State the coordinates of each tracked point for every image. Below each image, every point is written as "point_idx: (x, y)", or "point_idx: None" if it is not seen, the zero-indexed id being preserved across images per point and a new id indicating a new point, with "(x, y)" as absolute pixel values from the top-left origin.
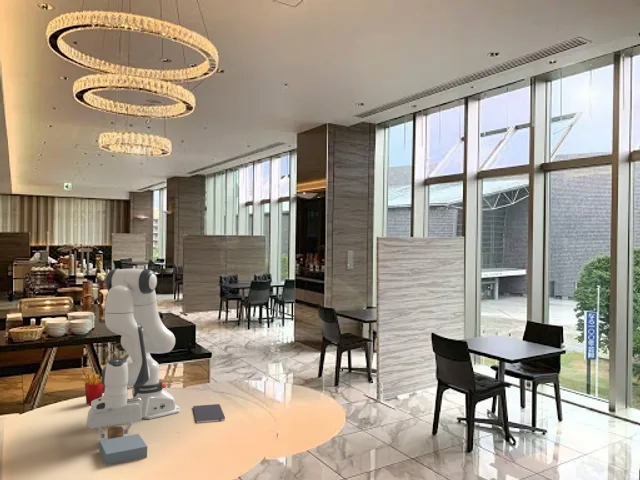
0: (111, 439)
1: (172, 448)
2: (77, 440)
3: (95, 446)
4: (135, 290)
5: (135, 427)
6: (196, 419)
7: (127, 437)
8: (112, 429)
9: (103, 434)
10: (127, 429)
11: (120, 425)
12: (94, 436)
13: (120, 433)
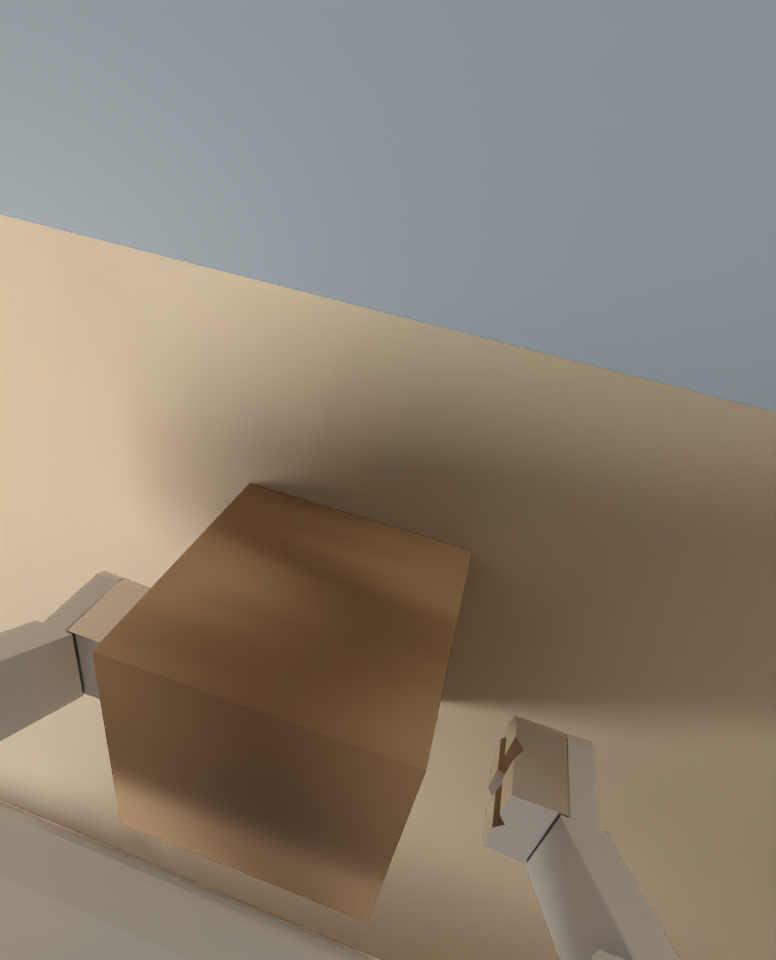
0: (675, 267)
1: None
2: (738, 924)
3: (718, 629)
4: None
5: (43, 725)
6: None
7: (66, 11)
8: (329, 801)
9: (538, 790)
10: (50, 634)
11: (132, 818)
12: (503, 860)
13: (217, 601)
